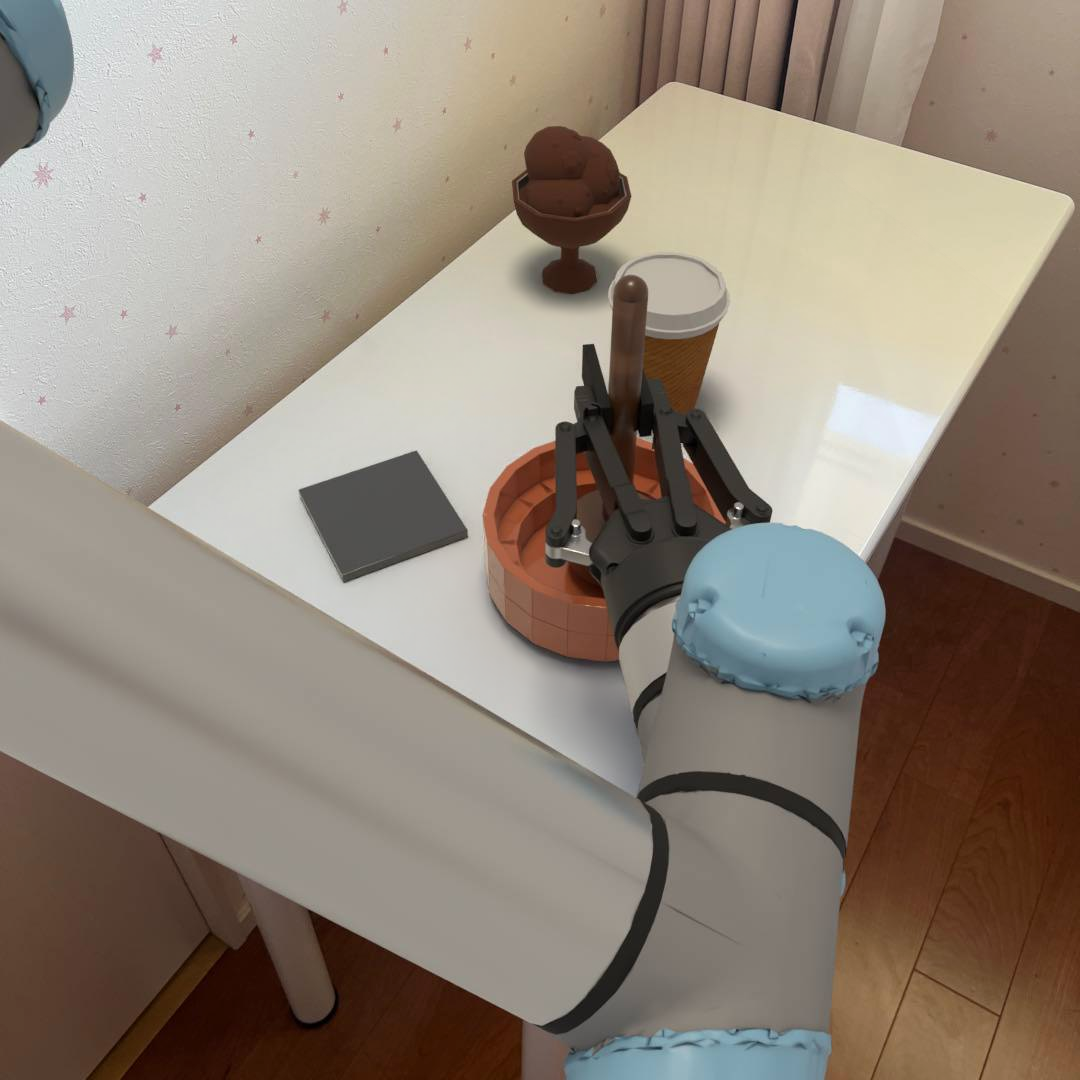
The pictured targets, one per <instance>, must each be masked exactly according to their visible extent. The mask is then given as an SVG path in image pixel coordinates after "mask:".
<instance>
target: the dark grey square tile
mask: <svg viewBox="0 0 1080 1080" xmlns="http://www.w3.org/2000/svg"><path fill="white" fill-rule="evenodd" d="M298 495H299V498H300V500H301V503H302V504H303V506H304V508H305V509H306V511H307V513H308V515H309V517H310V519H311V521H312V524H313V525H314V527H315V529H316V531H317V533H318V535H319V538H320V540H321V541H322V543H323V545H324V547H325V549H326V551H327V552H328V555H329V556H330V558H331V560H332V562H333V565H334V567H335V568H336V570H337V572H338V575H339V576H340V578H341V580H342V582H343V583H344V582H348V581H350V580H354V579H356V578H359V577H361V576H364V575H367V574H370V573H373V572H375V571H378V570H380V569H384V568H386V567H389V566H391V565H394V564H397V563H400V562H403V561H405V560H408V559H410V558H413V557H417V556H419V555H422V554H426V553H427V552H430V551H433V550H435V549H436V550H437V549H439V548H441V547H444V546H447V545H449V544H452V543H455V542H457V541H460V540H463V539H465V538H468V537H469V529H468V528H467V526H466V524H465V523H464V522H463V521H462V519H461V517H460V515H459V514H458V512H457V511H456V509H455V507H454V506H453V505H452V503H451V502H450V500H449V498H448V497H447V496H446V493H445V492H444V491H443V489H442V488H441V485H440V484H439V483H438V481H437V479H436V478H435V477H434V475H433V473H432V472H431V470H430V469H429V467H428V465H427V463H426V462H425V461H424V459H423V458H422V456H421V454H420V453H419V452H418V450H416V449H415V450H413V451H410V452H407V453H404V454H400V455H397V456H395V457H392V458H389V459H386V460H383V461H380V462H377V463H374V464H370V465H368V466H365V467H362V468H358V469H356V470H353V471H350V472H347V473H345V474H340V475H339V476H334V477H332V478H329V479H326V480H323V481H320V482H316V483H314V484H311V485H309V486H305V487H302V488H298Z"/></svg>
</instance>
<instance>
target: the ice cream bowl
mask: <svg viewBox="0 0 1080 1080" xmlns="http://www.w3.org/2000/svg"><path fill="white" fill-rule="evenodd" d="M523 156H524V163H525V168H526V169H525V170H524V171H523V172H521V173H520V174H519V175H517V176H516V177H515V178H513V179H512V180H511V186H512V197H513V198H512V200H513V203H514V204H513V205H514V208H515V213H516V215H517V216H516V217H518V219H519V221H520V223H521V225H522V226H523V227H524V228H526V229H527V230H528V231H529V232H531V233H532V234H533V235H535V236H536V237H538V238H539V239H541V240H542V241H544V242H545V243H547V244H548V245H550V246H554V247H557V248H560V258H559V259H554V260H551V261H550V262H549V263H548V264H547V265H546V266H545V267H544V268H543V269H542V272H541V279H542V285H544V286H545V287H547V288H548V289H550V290H551V291H552V292H555V293H563V294H570V295H574V294H578V293H582V292H587V291H589V290H590V289H591V288H593V286H594V285H596V283H597V282H598V276H597V270H596V267H595V266H594V265H593V264H591V263H590V262H588V261H586V260H585V259H583V258H580V248H581V247H585V246H590V245H593V244H596V243H598V242H599V241H601V240H602V239H603V238H605V237H606V236H607V235H608V234H609V233H610V232H611V231H613V230H614V229H615V228H616V226H618V225H619V224H620V223H621V222H622V220H623V219H624V217H625V216H626V214H627V212H628V210H629V206H630V203H631V200H632V193H631V189H630V188H631V187H630V184H629V180H628V176H626V175H625V174H623V173H622V172H620V169H619V166H618V163H617V159H616V157H615V156H614V155H613V152H612V150H611V148H609V147H608V146H607V145H605V144H604V143H603V142H601V141H600V140H598V139H596V138H594V137H592V136H586V135H580V134H579V132H578V131H576V130H574V129H571V128H568V127H566V126H561V125H553V126H552V125H551V126H550V125H549V126H546V127H544V128H541V129H540V130H538V131H536V132H535V133H533V135H532V137H531V139H530V140H529V142H528V143H527V144H526V146H525V149H524V152H523Z"/></svg>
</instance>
